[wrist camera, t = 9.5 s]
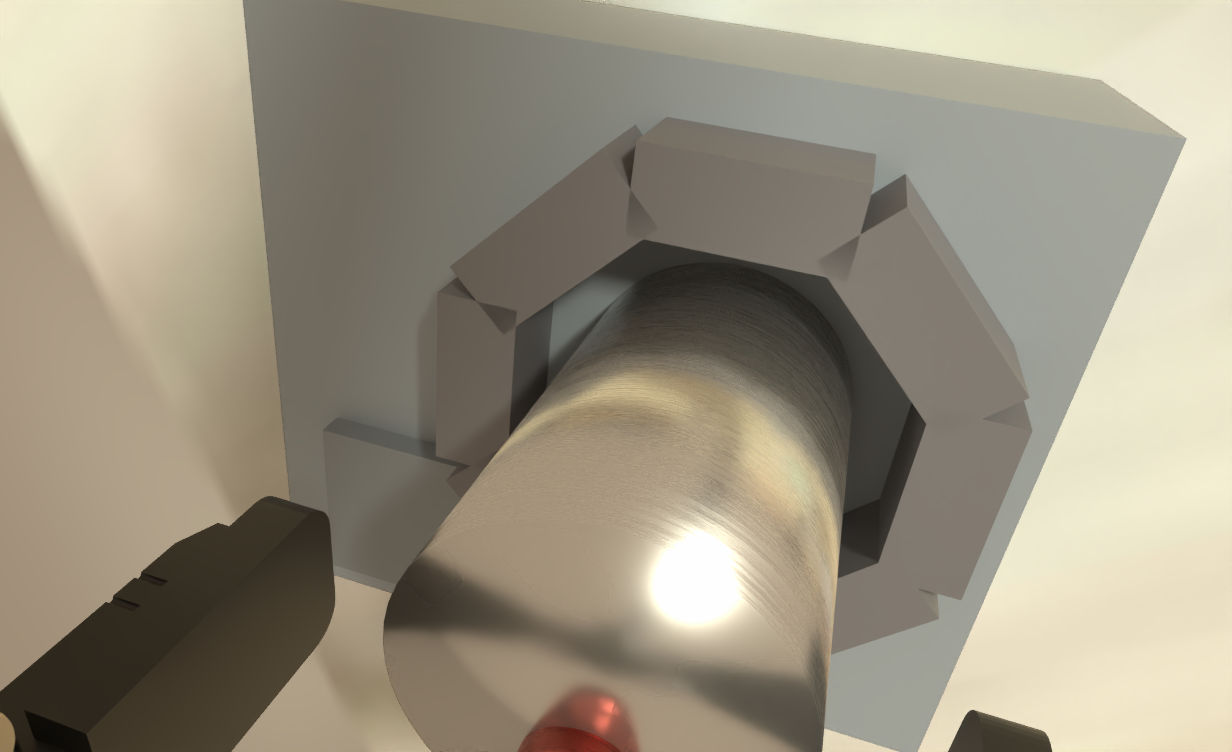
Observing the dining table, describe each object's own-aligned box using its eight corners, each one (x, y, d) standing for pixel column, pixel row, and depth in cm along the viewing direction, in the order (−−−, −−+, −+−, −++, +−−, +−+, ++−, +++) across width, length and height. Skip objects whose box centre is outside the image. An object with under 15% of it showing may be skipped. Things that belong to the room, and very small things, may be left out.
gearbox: (403, -27, 21) (161, -11, 14) (1101, 80, 17) (1232, 170, 11) (408, 519, 29) (258, 698, 22) (883, 658, 26) (879, 917, 19)
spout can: (600, 236, 16) (307, 532, 8) (885, 294, 15) (875, 702, 7) (577, 465, 18) (338, 863, 10) (819, 528, 17) (756, 1022, 9)
